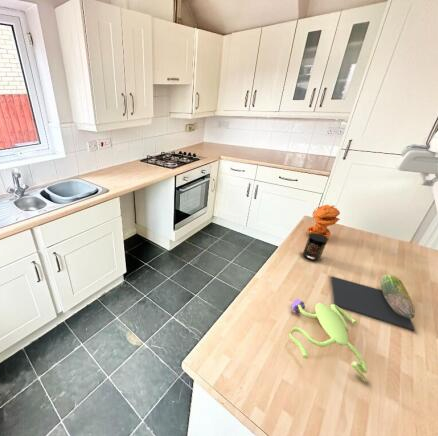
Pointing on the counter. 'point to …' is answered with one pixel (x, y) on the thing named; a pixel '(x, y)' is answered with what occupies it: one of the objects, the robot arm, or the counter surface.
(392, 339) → the counter surface
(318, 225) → the toy dinosaur
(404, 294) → the vegetable
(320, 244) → the supplement container
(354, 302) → the mat
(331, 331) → the figurine
